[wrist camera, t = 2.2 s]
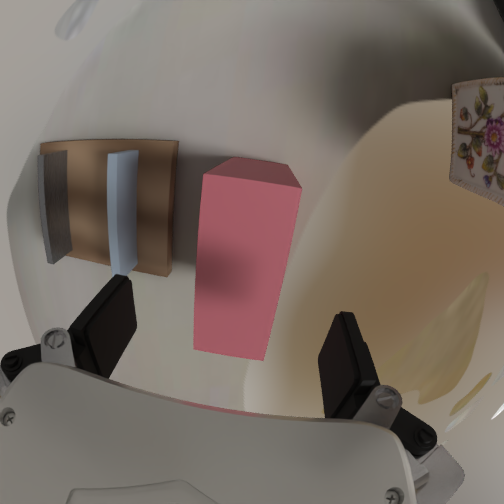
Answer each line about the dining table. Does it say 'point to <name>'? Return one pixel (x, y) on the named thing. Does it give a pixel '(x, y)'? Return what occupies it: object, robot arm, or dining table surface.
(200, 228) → the red block
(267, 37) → the dining table surface
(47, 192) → the bookend
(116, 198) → the divider
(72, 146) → the shelf board
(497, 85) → the decorative jar
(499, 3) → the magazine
